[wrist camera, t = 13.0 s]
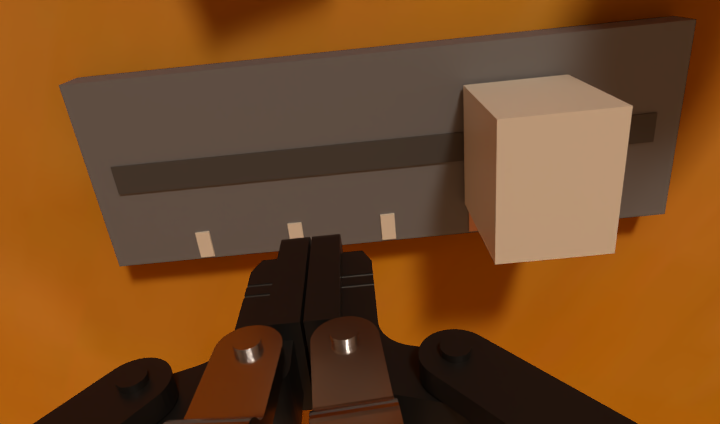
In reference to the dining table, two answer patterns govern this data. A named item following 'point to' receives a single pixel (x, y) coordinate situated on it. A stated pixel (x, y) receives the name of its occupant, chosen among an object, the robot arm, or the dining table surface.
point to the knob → (544, 167)
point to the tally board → (346, 137)
